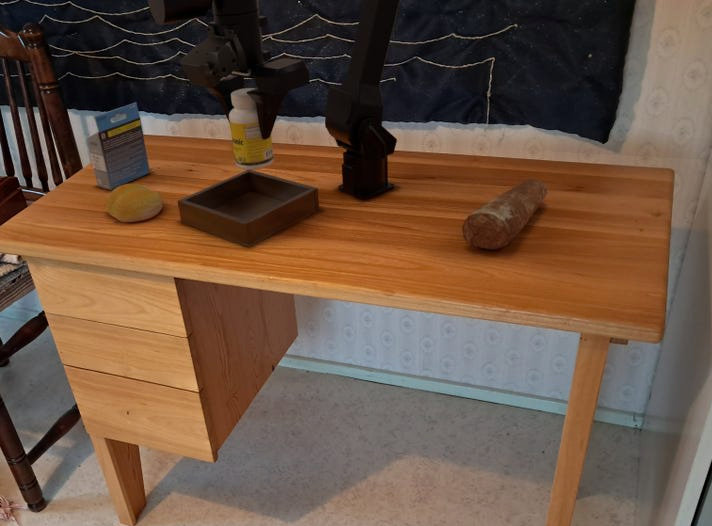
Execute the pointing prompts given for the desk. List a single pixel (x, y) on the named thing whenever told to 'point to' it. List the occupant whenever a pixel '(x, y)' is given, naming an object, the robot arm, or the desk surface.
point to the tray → (249, 207)
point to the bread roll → (133, 203)
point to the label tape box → (118, 148)
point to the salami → (504, 216)
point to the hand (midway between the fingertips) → (251, 135)
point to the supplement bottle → (248, 133)
